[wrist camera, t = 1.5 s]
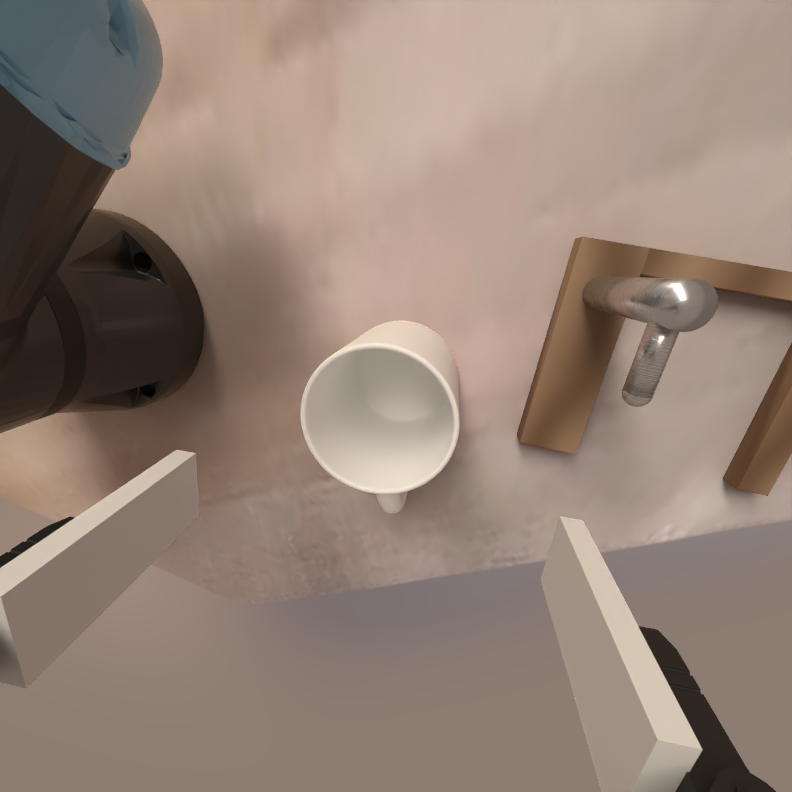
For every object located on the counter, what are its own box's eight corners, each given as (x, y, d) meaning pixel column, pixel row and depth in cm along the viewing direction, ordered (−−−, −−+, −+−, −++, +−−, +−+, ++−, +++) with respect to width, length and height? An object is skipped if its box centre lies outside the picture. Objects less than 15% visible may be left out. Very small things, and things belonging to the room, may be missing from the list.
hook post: (560, 360, 26) (620, 409, 17) (588, 273, 24) (672, 274, 15) (591, 365, 26) (668, 419, 16) (621, 279, 24) (727, 284, 15)
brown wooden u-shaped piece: (516, 434, 30) (519, 442, 28) (575, 238, 25) (582, 236, 24) (752, 484, 28) (767, 495, 27) (858, 286, 24) (884, 287, 22)
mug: (456, 469, 31) (456, 558, 22) (355, 464, 33) (313, 547, 23) (459, 318, 28) (462, 343, 18) (346, 319, 29) (291, 342, 19)
